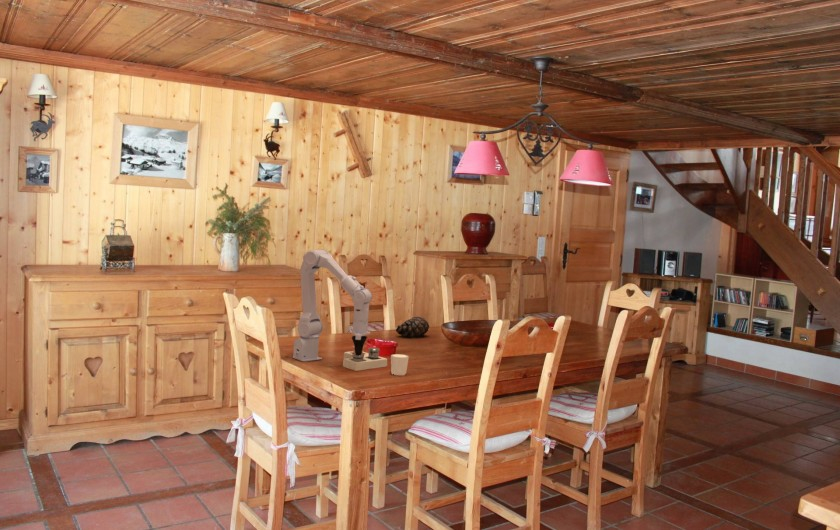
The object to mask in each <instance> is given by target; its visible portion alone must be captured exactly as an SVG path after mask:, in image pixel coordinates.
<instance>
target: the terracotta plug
mask: <svg viewBox="0 0 840 530" xmlns="http://www.w3.org/2000/svg"><path fill="white" fill-rule="evenodd" d="M364 349H365V346H363V350H362V354H363V352H364ZM352 351H353V354H355V347H354V344H353V345H352Z"/></svg>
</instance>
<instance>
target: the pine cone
mask: <svg viewBox="0 0 840 530" xmlns="http://www.w3.org/2000/svg"><path fill="white" fill-rule="evenodd" d="M429 329H430V325H429V322H428V321H427V320H426V318H424V317H421V316H413V317H412V318H410V319H407V320H405V321H404V322H402V323H401V324H398V325H397V328H396V329H395V331H396V333H397V334H398V335H400V336H398V338H400V339H421V338H425V337H426V335H425V334H427V333H428V331H429Z"/></svg>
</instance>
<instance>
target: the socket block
mask: <svg viewBox="0 0 840 530" xmlns="http://www.w3.org/2000/svg"><path fill="white" fill-rule="evenodd" d="M352 354H353V350H352V351H344V352H343V361H342V367H343V368H347V369H349V370H352V371H355V372H357V371H363V370H364V371H365V370H372V369H378V368H385V367H388V358H385V357H382V356H378V359H376V360H371V359H368V355H369V352H365V351H363V354H364V358H363V361H361V362H355V361H353V357H352Z"/></svg>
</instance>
